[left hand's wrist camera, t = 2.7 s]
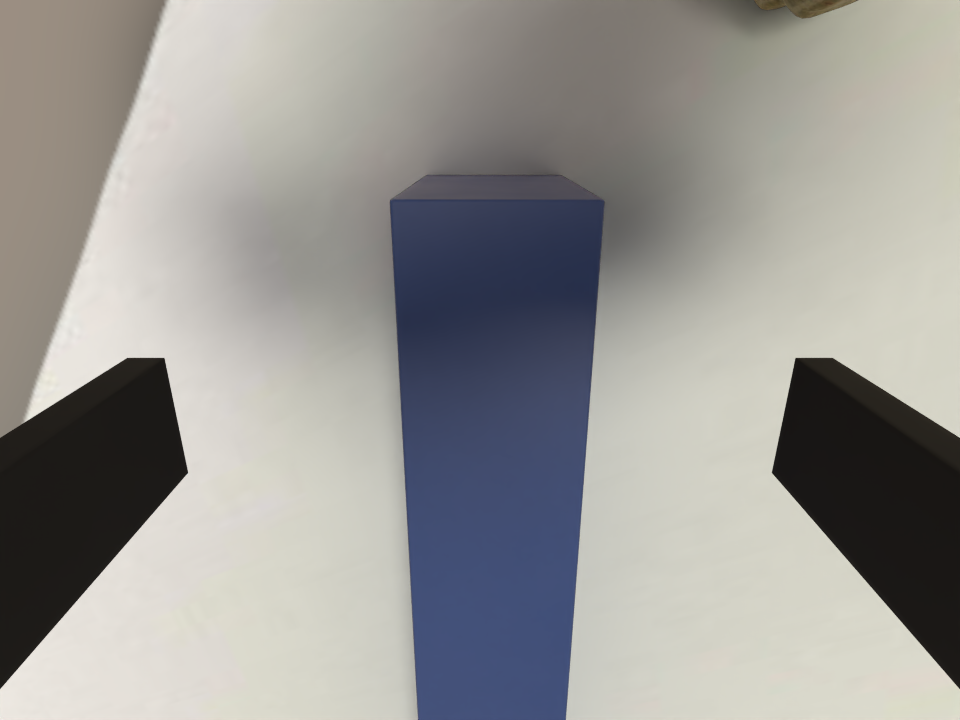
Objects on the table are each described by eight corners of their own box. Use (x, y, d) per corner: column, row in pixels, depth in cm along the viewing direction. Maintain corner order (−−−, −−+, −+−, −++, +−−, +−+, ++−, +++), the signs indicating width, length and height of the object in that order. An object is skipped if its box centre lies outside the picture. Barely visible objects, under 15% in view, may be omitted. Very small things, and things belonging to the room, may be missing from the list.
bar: (425, 175, 23) (389, 199, 15) (562, 175, 23) (605, 199, 14) (444, 766, 35) (430, 962, 27) (533, 767, 35) (547, 964, 27)
